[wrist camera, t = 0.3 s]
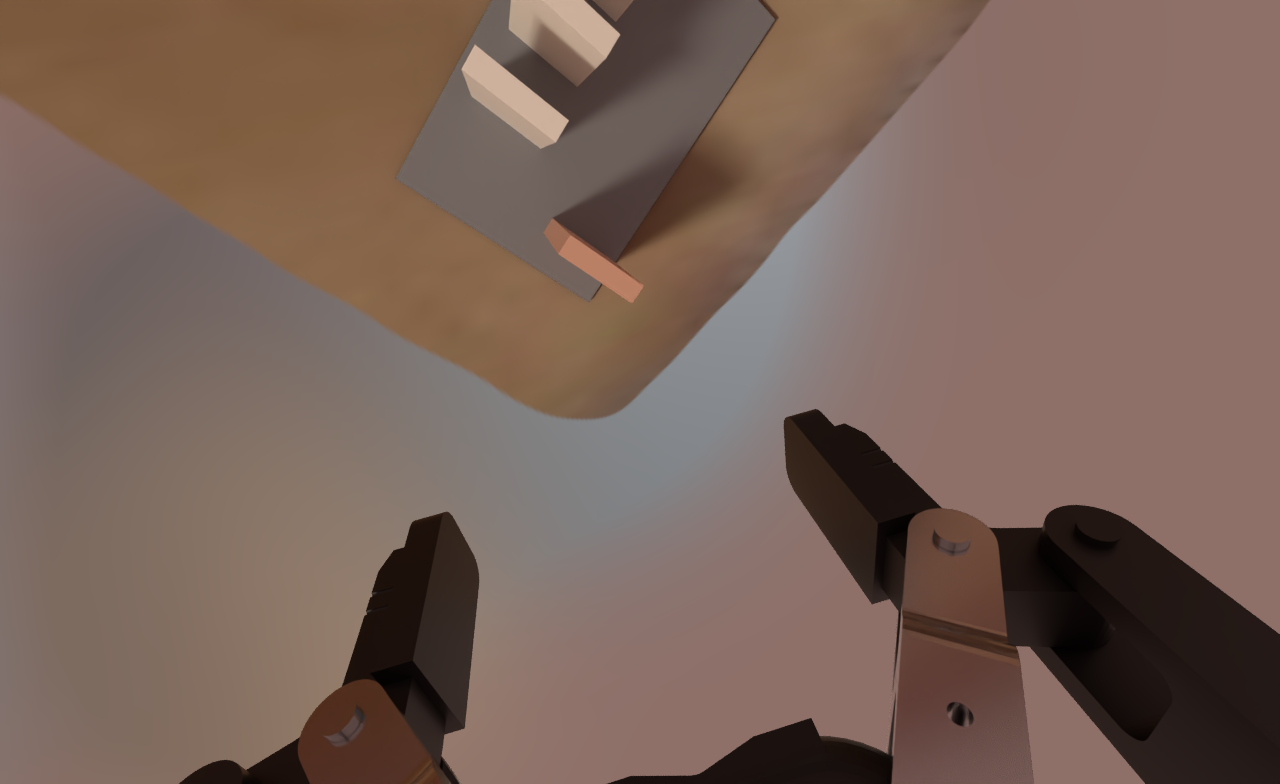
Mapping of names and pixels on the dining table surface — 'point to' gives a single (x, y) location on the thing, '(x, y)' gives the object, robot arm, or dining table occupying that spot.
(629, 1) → the domino
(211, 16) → the dining table surface
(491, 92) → the domino
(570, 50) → the domino
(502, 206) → the mat
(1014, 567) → the robot arm
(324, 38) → the dining table surface
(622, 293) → the terracotta tile
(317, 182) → the dining table surface
